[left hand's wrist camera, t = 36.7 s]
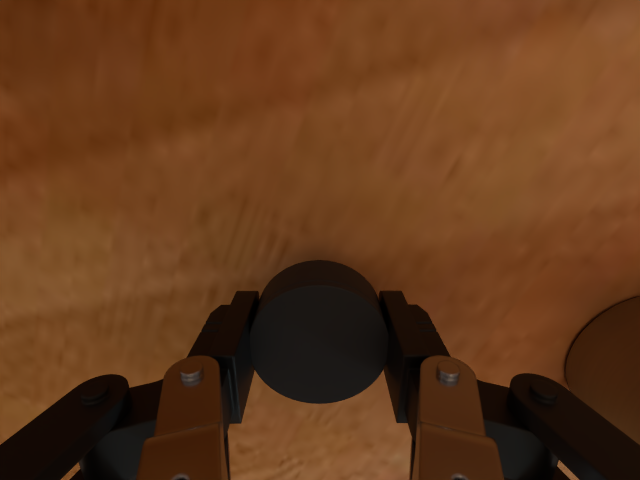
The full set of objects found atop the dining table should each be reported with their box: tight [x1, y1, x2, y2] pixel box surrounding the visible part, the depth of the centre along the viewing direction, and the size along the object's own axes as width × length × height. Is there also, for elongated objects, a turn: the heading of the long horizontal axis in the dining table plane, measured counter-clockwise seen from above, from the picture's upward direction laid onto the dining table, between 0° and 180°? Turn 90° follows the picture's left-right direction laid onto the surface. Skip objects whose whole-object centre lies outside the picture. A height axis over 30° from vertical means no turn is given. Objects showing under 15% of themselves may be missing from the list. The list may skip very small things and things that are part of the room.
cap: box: [249, 260, 389, 404], centre depth 11 cm, size 4×4×2 cm
